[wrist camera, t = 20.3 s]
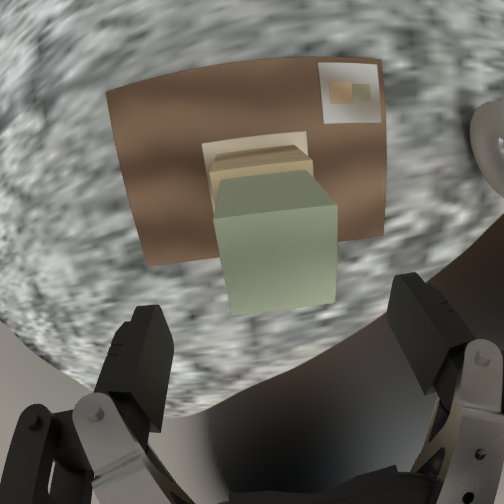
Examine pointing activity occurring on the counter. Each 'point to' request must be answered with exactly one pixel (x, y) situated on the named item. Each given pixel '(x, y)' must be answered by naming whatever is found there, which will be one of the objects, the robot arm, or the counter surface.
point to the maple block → (257, 163)
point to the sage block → (276, 242)
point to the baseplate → (248, 142)
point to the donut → (489, 142)
